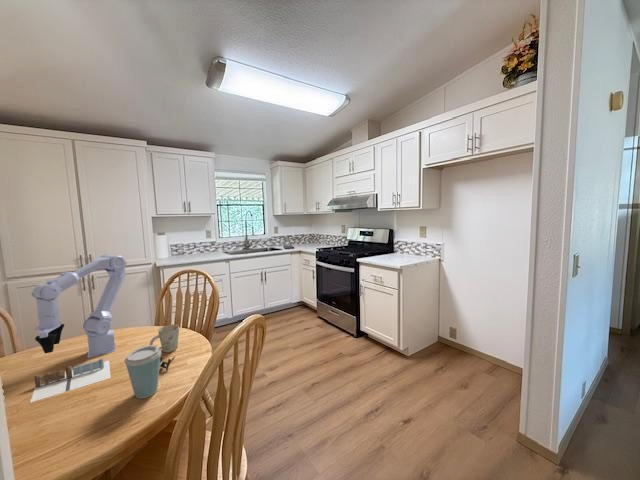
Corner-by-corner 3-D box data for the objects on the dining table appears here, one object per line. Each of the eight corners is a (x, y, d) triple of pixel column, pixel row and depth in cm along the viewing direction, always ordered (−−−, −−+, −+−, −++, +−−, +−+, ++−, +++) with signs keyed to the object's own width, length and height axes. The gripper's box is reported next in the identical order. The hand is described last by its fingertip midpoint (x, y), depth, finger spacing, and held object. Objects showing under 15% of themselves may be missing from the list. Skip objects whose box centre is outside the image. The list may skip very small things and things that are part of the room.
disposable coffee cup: (137, 407, 87) (134, 362, 85) (120, 396, 92) (117, 354, 91) (169, 388, 96) (167, 348, 95) (152, 379, 101) (150, 341, 100)
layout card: (109, 361, 114) (108, 360, 114) (110, 378, 102) (110, 377, 102) (37, 380, 101) (37, 379, 101) (30, 403, 89) (30, 402, 89)
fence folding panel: (103, 366, 109) (103, 357, 109) (103, 367, 108) (103, 359, 108) (73, 374, 103) (72, 366, 103) (73, 376, 102) (72, 367, 102)
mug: (184, 347, 126) (182, 327, 125) (155, 360, 115) (154, 337, 114) (174, 343, 130) (172, 323, 129) (145, 354, 120) (144, 332, 119)
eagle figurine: (178, 360, 112) (159, 354, 114) (172, 352, 108) (153, 346, 109) (165, 379, 107) (146, 372, 108) (159, 371, 102) (139, 364, 104)
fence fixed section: (72, 376, 103) (71, 365, 103) (72, 378, 102) (71, 367, 102) (35, 386, 97) (34, 375, 97) (35, 388, 96) (33, 377, 96)
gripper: (41, 310, 109) (45, 342, 110) (26, 323, 96) (30, 359, 98) (64, 307, 112) (68, 338, 114) (52, 319, 100) (56, 354, 101)
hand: (52, 348), depth 106 cm, fingers open, 7 cm apart
